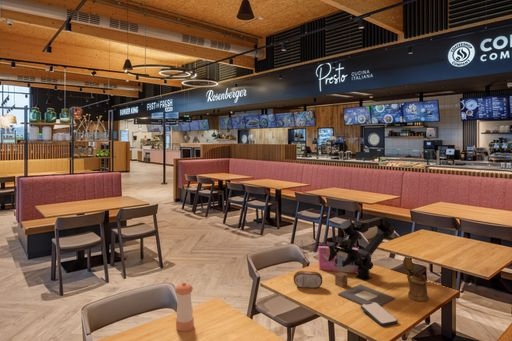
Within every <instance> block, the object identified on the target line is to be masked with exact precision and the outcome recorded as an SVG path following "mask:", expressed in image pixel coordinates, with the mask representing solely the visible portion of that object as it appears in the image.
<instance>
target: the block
mask: <svg viewBox="0 0 512 341" xmlns="http://www.w3.org/2000/svg"><path fill="white" fill-rule="evenodd" d="M334 276H335V278H334V280H335V281H334V284H335V286H337V287H339V288H345V287H347V286H348V276H349V275H348V274H347V273H346V272H341V271H339V272H337V273H335V275H334Z"/></svg>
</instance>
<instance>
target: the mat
mask: <svg viewBox="0 0 512 341" xmlns="http://www.w3.org/2000/svg"><path fill="white" fill-rule="evenodd" d="M337 295H338V297H339V296H340V297H341V298H344V299H346V300H347V301H348V300H349V301H351V302H353V303H355V304H358V305H360V306H361V305H362V304H367V303H372V302H376V303H378V304H379V305H380V306H381V307H383V306H384V305H386V304H388V303H390V302H391V301H394V300H395V298H396V297H395V296H392V295H389V294H387V293H384V292H381V291H379V290H376V289H374V288H370V287H368V286H366V285H362V284H358V285H355V286H353V287H351V288H348V289H346V290H344V291H341V292H338V293H337Z"/></svg>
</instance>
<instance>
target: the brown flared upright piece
mask: <svg viewBox="0 0 512 341" xmlns="http://www.w3.org/2000/svg"><path fill="white" fill-rule="evenodd" d="M402 263H403V266H404V268H405V269H406V271H407V275H406V276H407V277H406V278H407V281H408V284H409V291H408V293H407V296H408V298H409V299H411V300H413V301H415V302H423V303H424V302H427V301H429V295H428V288H427V283H428V281H427V277H426V275H424V274H422V273H416V272H415V271H414V269H415V268H414V267H415V265H414V262H413V260H412V259H410V258H409V257H408V256H407V257H406V256H404V258H403V260H402Z"/></svg>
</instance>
